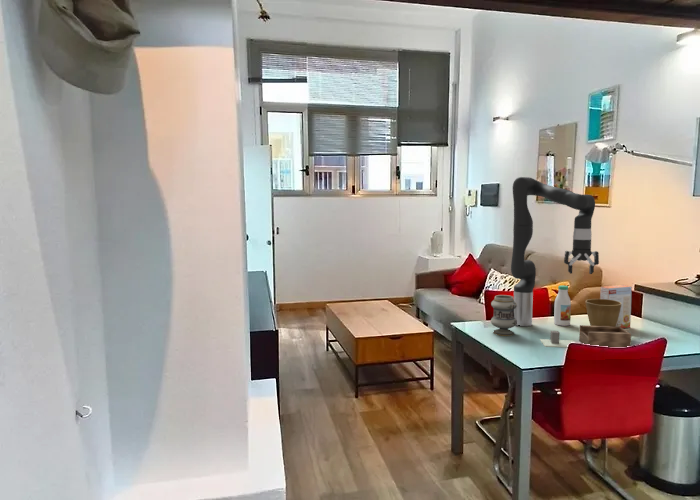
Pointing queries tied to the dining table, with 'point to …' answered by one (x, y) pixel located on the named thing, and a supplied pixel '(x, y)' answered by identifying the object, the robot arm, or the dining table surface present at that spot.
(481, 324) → the dining table surface
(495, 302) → the apothecary jar
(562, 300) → the milk bottle
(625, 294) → the cracker box
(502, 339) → the dining table surface
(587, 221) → the robot arm
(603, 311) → the plant pot
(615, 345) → the walnut box
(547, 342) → the lid
